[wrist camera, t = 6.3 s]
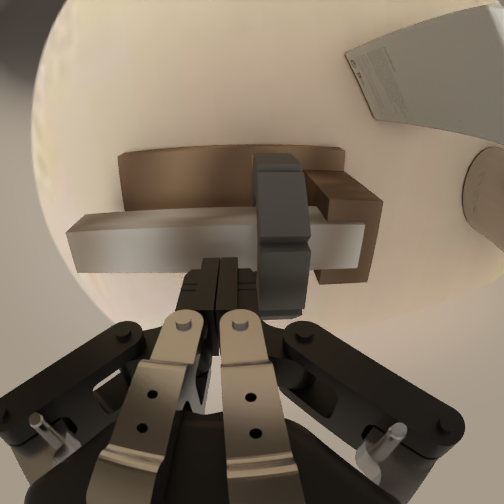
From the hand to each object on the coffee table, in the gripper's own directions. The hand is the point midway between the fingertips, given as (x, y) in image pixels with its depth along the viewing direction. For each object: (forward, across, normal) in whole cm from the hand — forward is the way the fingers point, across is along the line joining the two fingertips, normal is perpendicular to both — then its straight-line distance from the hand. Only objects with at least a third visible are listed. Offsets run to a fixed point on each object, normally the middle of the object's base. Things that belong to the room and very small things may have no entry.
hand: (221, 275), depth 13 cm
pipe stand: (+10, 0, 0) cm, 10 cm away
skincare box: (+11, -13, -11) cm, 20 cm away
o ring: (+8, -3, 0) cm, 8 cm away
